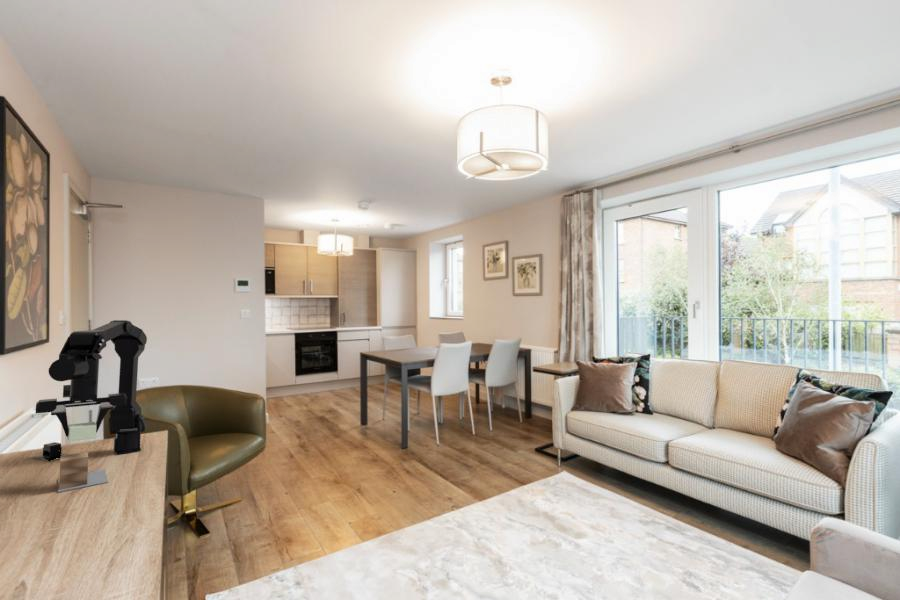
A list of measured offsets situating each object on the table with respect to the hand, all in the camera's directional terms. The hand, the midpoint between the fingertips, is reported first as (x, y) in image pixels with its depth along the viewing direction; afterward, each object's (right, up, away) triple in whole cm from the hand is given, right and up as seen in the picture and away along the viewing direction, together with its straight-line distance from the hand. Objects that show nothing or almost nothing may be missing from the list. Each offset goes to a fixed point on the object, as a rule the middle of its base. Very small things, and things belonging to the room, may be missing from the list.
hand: (81, 434), depth 116 cm
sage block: (0, -1, 0) cm, 1 cm away
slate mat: (+1, -13, 0) cm, 13 cm away
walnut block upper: (+1, -9, -3) cm, 9 cm away
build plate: (-26, -14, +19) cm, 35 cm away
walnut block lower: (+1, -12, -3) cm, 13 cm away
